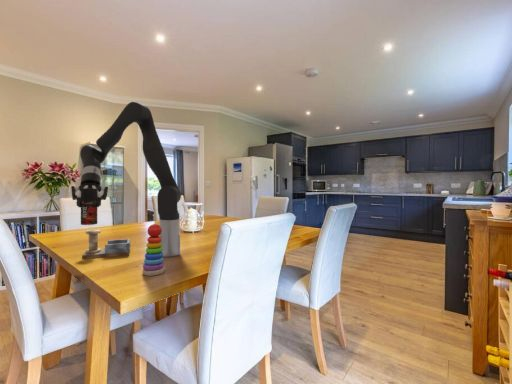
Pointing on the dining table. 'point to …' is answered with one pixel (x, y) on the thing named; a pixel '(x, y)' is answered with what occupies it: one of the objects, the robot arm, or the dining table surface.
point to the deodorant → (89, 206)
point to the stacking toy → (153, 252)
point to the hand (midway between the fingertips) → (88, 205)
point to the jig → (110, 249)
